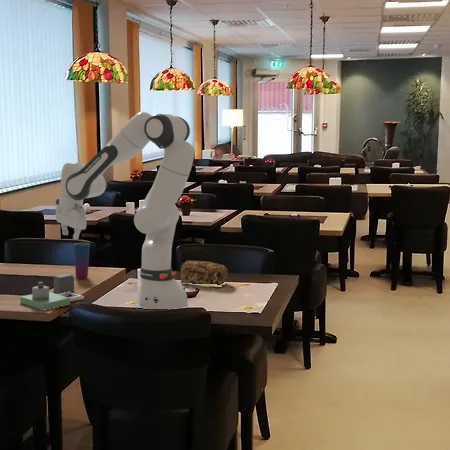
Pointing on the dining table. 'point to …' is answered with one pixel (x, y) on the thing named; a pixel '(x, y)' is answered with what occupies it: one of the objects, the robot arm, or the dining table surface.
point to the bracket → (75, 298)
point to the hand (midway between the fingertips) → (70, 237)
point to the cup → (81, 259)
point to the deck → (46, 303)
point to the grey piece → (63, 283)
